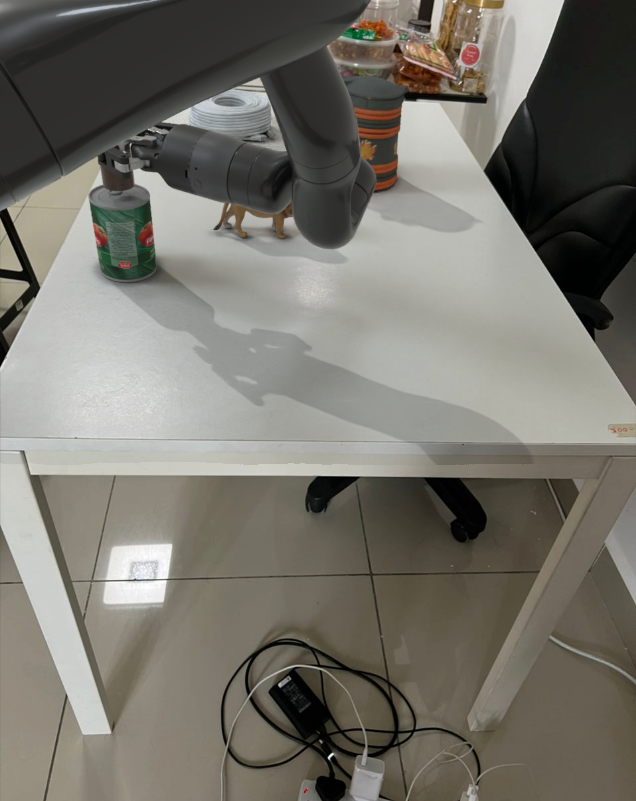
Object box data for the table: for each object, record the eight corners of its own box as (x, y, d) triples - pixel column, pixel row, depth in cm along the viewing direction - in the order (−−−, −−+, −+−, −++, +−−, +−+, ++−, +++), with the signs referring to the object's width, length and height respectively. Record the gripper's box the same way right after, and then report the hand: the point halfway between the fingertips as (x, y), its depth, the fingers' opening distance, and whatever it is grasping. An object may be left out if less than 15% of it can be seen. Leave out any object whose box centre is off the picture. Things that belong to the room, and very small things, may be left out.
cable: (277, 142, 133) (279, 112, 129) (192, 143, 130) (191, 111, 126) (263, 114, 146) (264, 85, 142) (185, 113, 142) (184, 84, 138)
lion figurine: (300, 223, 107) (304, 170, 101) (307, 238, 103) (311, 184, 97) (211, 225, 104) (209, 171, 98) (214, 241, 100) (213, 185, 94)
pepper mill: (109, 193, 82) (97, 111, 75) (98, 181, 84) (86, 101, 78) (139, 188, 84) (130, 107, 77) (128, 176, 86) (118, 97, 79)
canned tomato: (166, 273, 92) (160, 200, 85) (114, 288, 88) (103, 212, 81) (141, 249, 96) (133, 178, 89) (90, 262, 92) (78, 188, 85)
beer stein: (299, 189, 117) (306, 70, 104) (296, 158, 128) (302, 47, 115) (401, 194, 119) (421, 78, 106) (390, 163, 130) (407, 54, 116)
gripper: (241, 116, 78) (126, 88, 83) (171, 151, 69) (46, 117, 73) (241, 176, 83) (133, 146, 88) (176, 217, 73) (59, 181, 78)
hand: (94, 133), depth 81 cm, fingers closed on pepper mill, 4 cm apart
